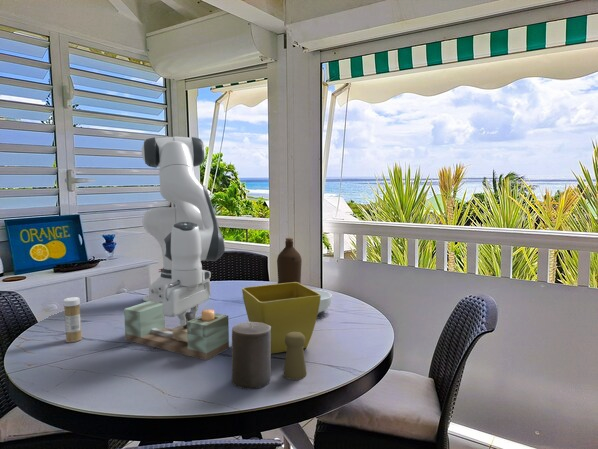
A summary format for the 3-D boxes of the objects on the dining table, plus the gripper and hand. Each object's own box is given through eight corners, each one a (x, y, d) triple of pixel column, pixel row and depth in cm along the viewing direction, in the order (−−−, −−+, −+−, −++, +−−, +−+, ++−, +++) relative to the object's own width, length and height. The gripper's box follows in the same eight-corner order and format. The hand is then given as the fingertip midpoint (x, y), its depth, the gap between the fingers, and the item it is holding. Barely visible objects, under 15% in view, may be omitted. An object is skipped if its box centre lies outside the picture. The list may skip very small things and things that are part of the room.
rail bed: (125, 339, 138) (124, 308, 137) (150, 330, 147) (148, 301, 146) (206, 360, 123) (206, 325, 122) (228, 348, 131) (228, 315, 130)
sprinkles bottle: (82, 336, 141) (79, 295, 140) (81, 341, 137) (79, 299, 136) (65, 339, 139) (63, 297, 138) (65, 343, 135) (62, 301, 134)
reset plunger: (199, 325, 127) (198, 312, 127) (207, 321, 130) (207, 308, 130) (209, 327, 125) (208, 313, 125) (217, 323, 129) (216, 310, 128)
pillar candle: (238, 392, 104) (238, 331, 103) (227, 375, 113) (227, 318, 112) (276, 385, 108) (276, 326, 107) (263, 369, 117) (263, 314, 115)
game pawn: (282, 369, 117) (282, 329, 115) (305, 368, 117) (305, 328, 116) (284, 380, 111) (283, 337, 109) (307, 379, 111) (307, 337, 110)
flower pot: (241, 338, 139) (241, 286, 138) (296, 330, 147) (296, 281, 145) (260, 361, 122) (260, 302, 120) (322, 350, 129) (322, 295, 128)
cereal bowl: (337, 309, 171) (338, 291, 170) (321, 321, 156) (321, 302, 155) (298, 304, 178) (298, 286, 177) (279, 315, 163) (279, 297, 162)
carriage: (172, 341, 130) (172, 315, 130) (189, 334, 137) (188, 309, 136) (188, 345, 128) (187, 318, 127) (204, 337, 134) (203, 312, 133)
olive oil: (306, 294, 192) (306, 237, 189) (291, 299, 184) (290, 240, 181) (288, 290, 199) (287, 235, 196) (272, 295, 190) (271, 238, 188)
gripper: (175, 286, 119) (176, 335, 121) (213, 271, 139) (214, 313, 140) (155, 284, 121) (157, 332, 123) (196, 269, 141) (197, 311, 142)
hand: (188, 322), depth 132 cm, fingers closed on carriage, 3 cm apart
